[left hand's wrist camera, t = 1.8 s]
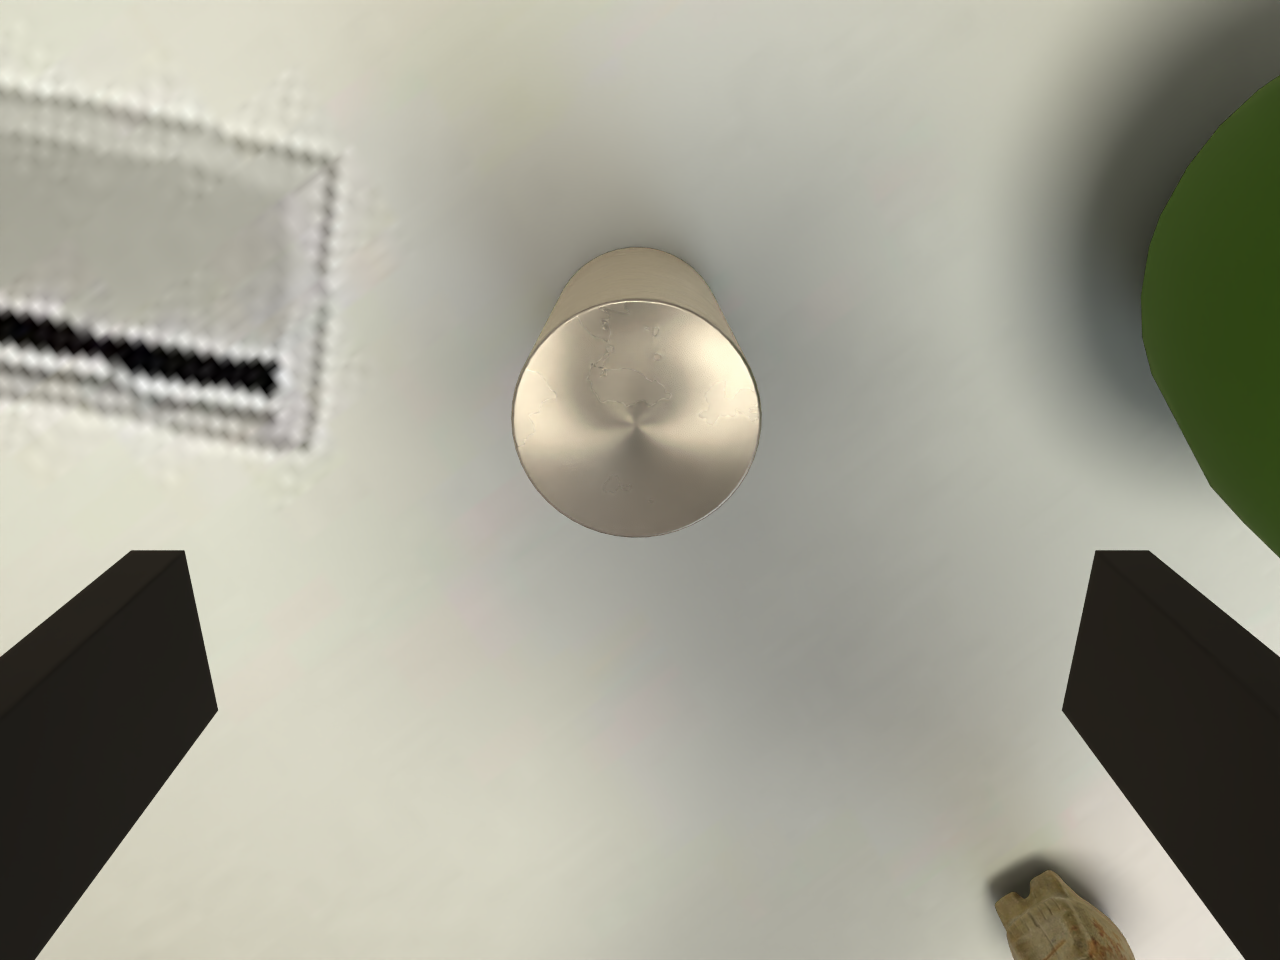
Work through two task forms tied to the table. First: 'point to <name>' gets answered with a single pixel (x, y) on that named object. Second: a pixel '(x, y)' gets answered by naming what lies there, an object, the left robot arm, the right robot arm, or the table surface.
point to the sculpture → (1058, 925)
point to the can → (636, 399)
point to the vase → (1224, 310)
